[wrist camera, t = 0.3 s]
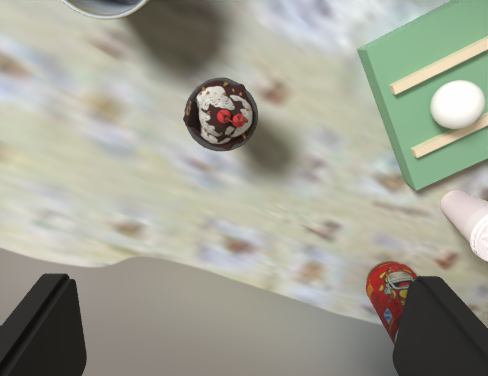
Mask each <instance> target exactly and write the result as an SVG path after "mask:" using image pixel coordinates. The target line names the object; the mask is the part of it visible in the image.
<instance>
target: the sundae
mask: <svg viewBox="0 0 488 376" xmlns="http://www.w3.org/2000/svg"><path fill="white" fill-rule="evenodd" d="M183 120H184V122H185V125H186V126H187V129H188V131H189V133H190V134H191V136H192V137H193V139H194V140H195V141H197V142H198V143H199V144H200V145H202V146H203V147H205V148H207V149H210V150H214V151H229V150H233V149H236V148H238V147H240V146H242V145H243V144H245V143H246V142H247V141H248V140H249V138H250V137H251V136H252V134H253V132H254V130H255V128H256V125H257V120H258V110H257V105H256V103H255V101H254V99H253V97H252V96H251V94H250V93H249V92H248V91H247V90H246V89H245V87H244V85H243V84H239V83H237V82H234V81H233V80H230V79H227V78H215V79H211V80H208V81H206V82H204V83H203V84H201V85H200V86H198V87H197V88H196V89H195V90H194V91H193V93H192V94H191V95H190V97H189V98H188V101H187V104H186V107H185V116H184V118H183Z"/></svg>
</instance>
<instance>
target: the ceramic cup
mask: <svg viewBox="0 0 488 376" xmlns="http://www.w3.org/2000/svg"><path fill="white" fill-rule="evenodd" d="M61 1H62V2H63V3H65V4H66V5H67V6H68V7H70V8H71V9H73V10H75V11H76V12H78V13H80V14H83V15H85V16H88V17H91V18H96V19H105V20H109V19H118V18H123V17H126V16H129V15H131V14H133V13H134V12H136V11H138V10H139V9H140V8H142V7H143V6H144V5H145V4H146V3H148V2H149V1H150V0H61Z"/></svg>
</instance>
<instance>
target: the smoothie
mask: <svg viewBox="0 0 488 376" xmlns="http://www.w3.org/2000/svg"><path fill="white" fill-rule="evenodd" d="M441 210H442V211H443V213H444V214H445V215H446V216H447V217H448V218H449V220H450V221H451V222H452V223H453V224H454V225H455V227H456V228H457V229H458V230H459V231H460V232H461V234H462V235H463V236H464V237H465V238H466V239H467V241H468V242H469V243H470V246H471V248H472V251H473V252H474V253H475V254H476V255H477V256H479V257H480V258H482V259H483V260H485V261H487V262H488V202H487V201H485V200H483V199H480V198H478V197H476V196H473V195H471V194H468V193H466V192H464V191H461V190H454V191H451V192H449V193H447V194H446V195H445V196H444V197H443V199H442V201H441Z"/></svg>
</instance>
